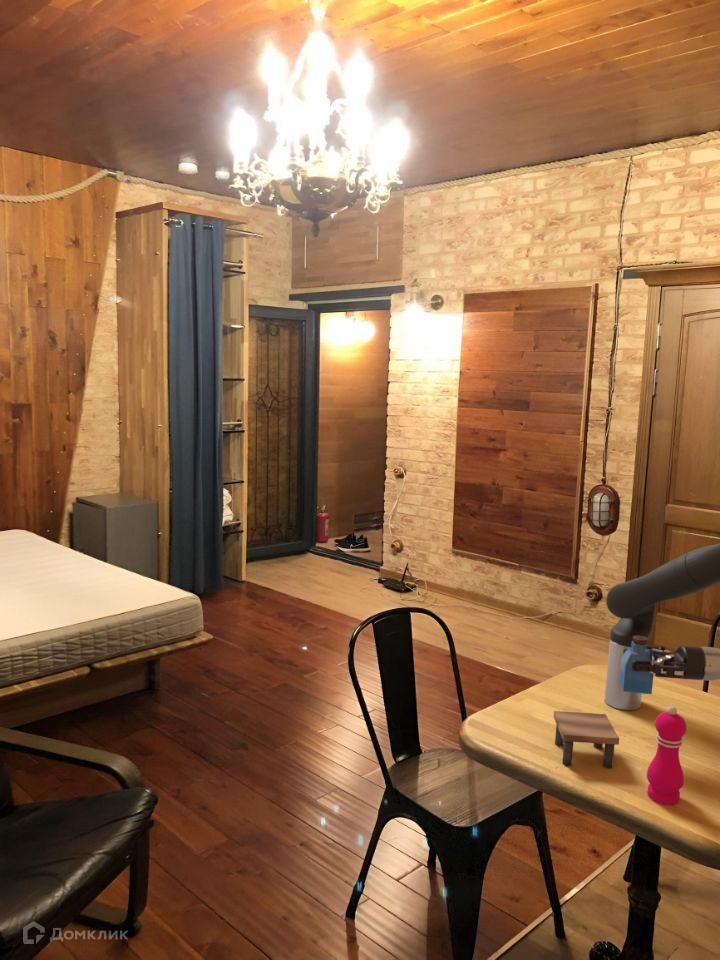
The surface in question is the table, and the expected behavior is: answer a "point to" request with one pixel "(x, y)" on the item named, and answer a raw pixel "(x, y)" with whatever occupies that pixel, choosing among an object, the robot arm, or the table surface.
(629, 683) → the perfume bottle
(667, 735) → the pepper mill
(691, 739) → the table surface
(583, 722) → the brown legged piece
